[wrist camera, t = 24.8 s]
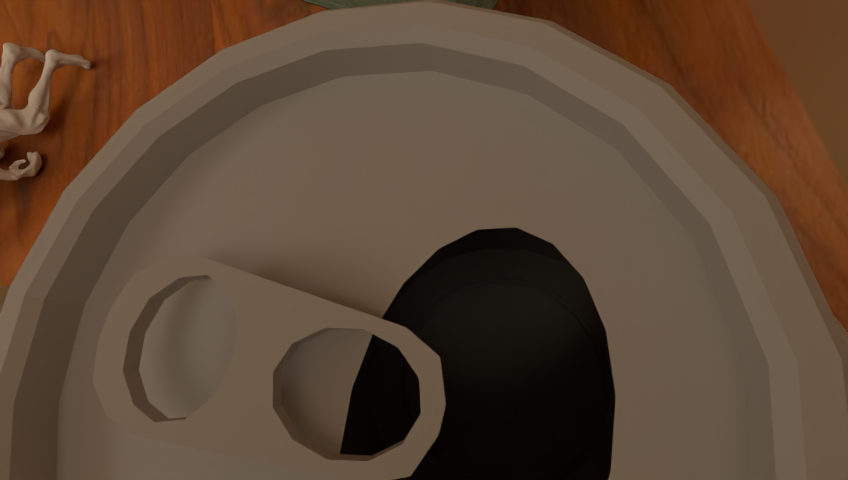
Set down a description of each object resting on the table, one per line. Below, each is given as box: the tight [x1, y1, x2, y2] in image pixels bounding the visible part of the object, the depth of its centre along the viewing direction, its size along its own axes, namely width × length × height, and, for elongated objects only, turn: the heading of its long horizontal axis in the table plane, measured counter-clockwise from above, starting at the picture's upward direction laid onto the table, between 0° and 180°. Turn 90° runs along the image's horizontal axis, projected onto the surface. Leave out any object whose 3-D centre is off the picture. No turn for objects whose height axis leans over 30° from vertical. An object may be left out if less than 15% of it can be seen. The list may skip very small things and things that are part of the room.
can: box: [0, 0, 848, 480], centre depth 9 cm, size 8×8×12 cm
